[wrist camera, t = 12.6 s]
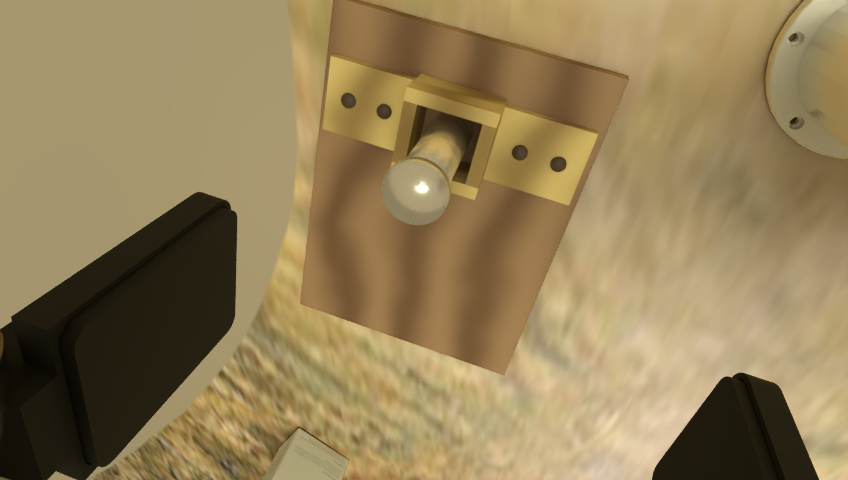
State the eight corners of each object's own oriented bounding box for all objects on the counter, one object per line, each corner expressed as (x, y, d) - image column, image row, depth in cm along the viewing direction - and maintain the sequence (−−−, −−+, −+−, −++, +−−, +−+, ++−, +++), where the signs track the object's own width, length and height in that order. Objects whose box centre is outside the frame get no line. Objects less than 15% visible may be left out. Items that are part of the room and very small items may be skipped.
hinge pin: (484, 110, 40) (455, 172, 30) (472, 158, 43) (440, 232, 32) (434, 96, 41) (387, 153, 30) (424, 145, 43) (376, 214, 32)
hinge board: (627, 75, 38) (632, 95, 34) (505, 366, 54) (498, 405, 50) (340, -5, 40) (310, 3, 36) (305, 297, 56) (281, 327, 52)
